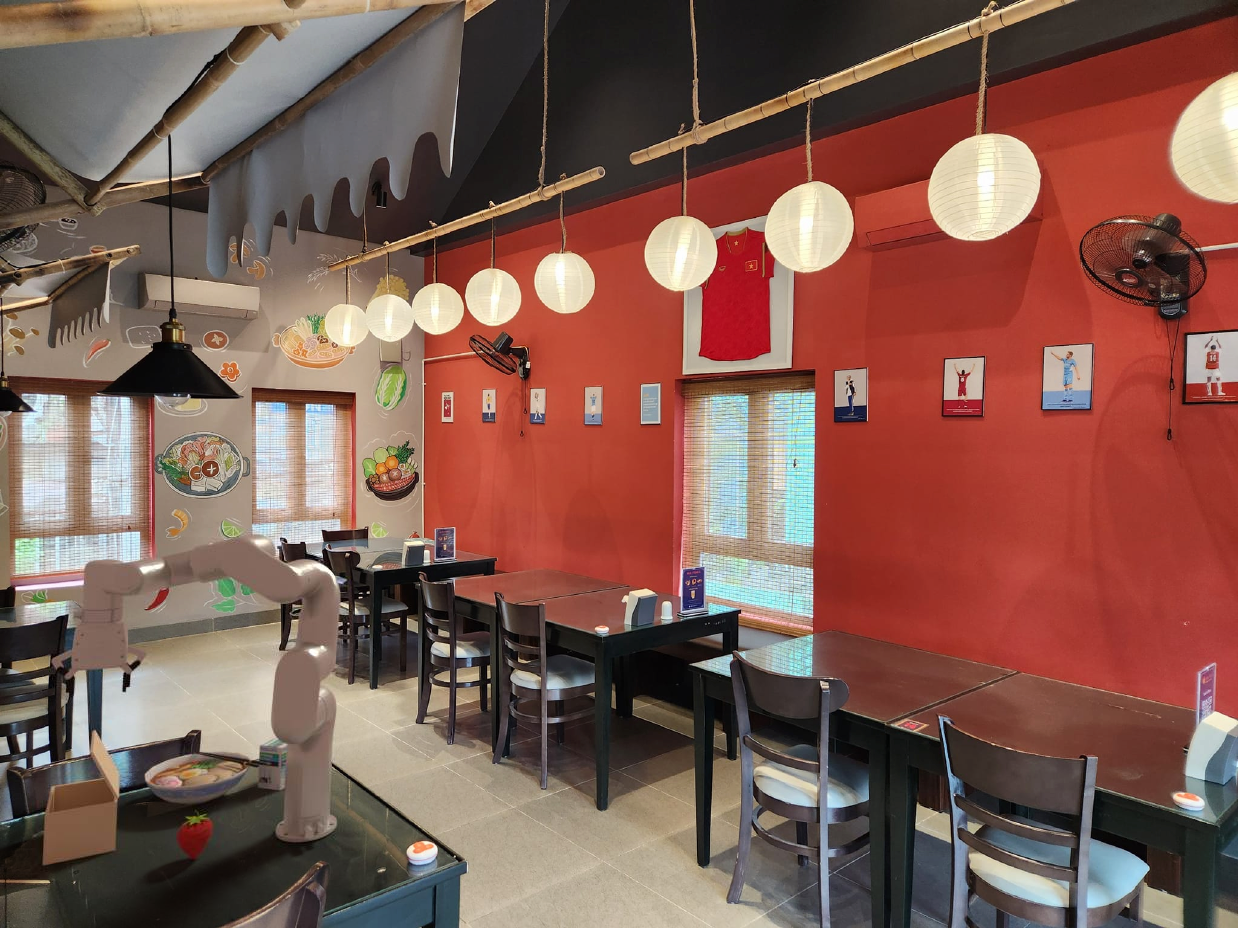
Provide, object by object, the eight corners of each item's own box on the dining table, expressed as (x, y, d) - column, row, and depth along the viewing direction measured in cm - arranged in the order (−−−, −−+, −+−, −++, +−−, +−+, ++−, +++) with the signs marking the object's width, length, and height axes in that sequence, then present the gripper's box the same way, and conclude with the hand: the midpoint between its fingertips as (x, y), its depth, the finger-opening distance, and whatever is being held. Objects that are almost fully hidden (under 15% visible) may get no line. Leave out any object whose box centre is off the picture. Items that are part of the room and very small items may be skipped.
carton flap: (116, 799, 156) (118, 797, 156) (89, 753, 154) (92, 751, 154) (116, 773, 169) (119, 772, 169) (92, 730, 167) (95, 729, 167)
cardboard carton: (115, 850, 156) (117, 801, 156) (42, 865, 149) (44, 814, 149) (116, 820, 169) (117, 775, 169) (49, 832, 162) (51, 786, 163)
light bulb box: (280, 791, 187) (282, 747, 187) (256, 788, 188) (258, 745, 188) (306, 774, 197) (307, 733, 198) (283, 772, 199) (285, 731, 199)
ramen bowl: (116, 807, 176) (117, 772, 176) (203, 773, 197) (204, 741, 197) (192, 828, 166) (193, 791, 166) (274, 790, 187) (276, 757, 188)
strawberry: (167, 867, 150) (169, 816, 150) (192, 848, 157) (194, 800, 157) (195, 869, 149) (197, 818, 149) (219, 850, 157) (221, 802, 157)
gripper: (51, 621, 159) (47, 702, 158) (148, 616, 168) (144, 693, 167) (55, 615, 165) (51, 693, 165) (148, 610, 174) (144, 684, 174)
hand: (98, 693), depth 166 cm, fingers open, 9 cm apart
